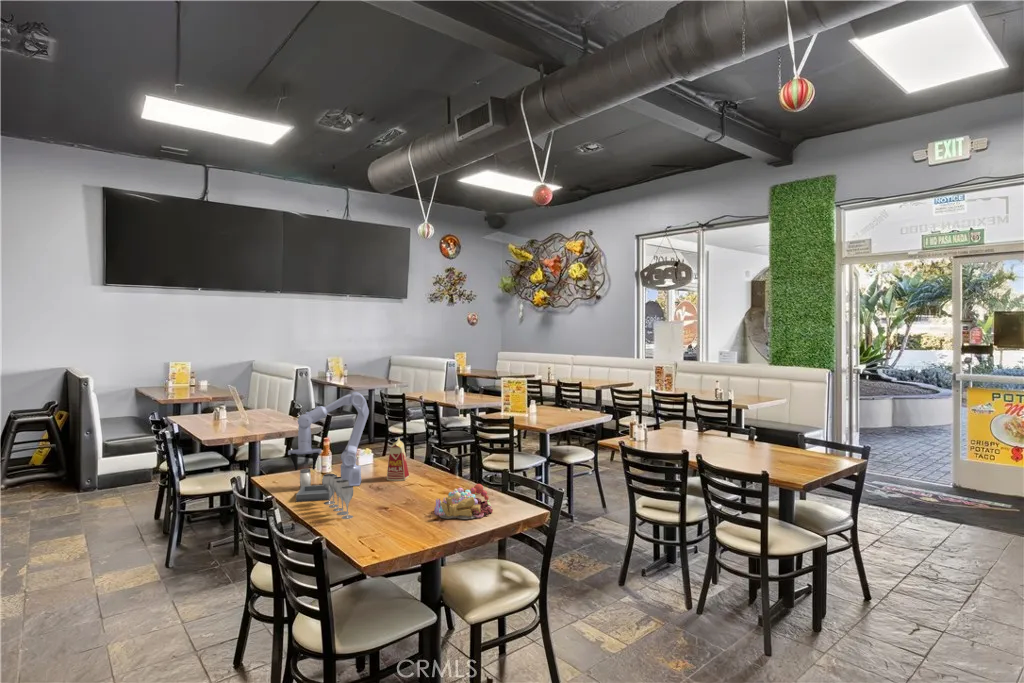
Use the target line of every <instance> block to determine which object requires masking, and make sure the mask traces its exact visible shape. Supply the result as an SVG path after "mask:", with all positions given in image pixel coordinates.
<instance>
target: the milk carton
mask: <svg viewBox="0 0 1024 683" xmlns="http://www.w3.org/2000/svg"><path fill="white" fill-rule="evenodd" d="M386 470H387V471H386V472H387V473H386V480H387V481H393V482H394V481H395V482H398V481H406V480H407V479H408V478H410V472H409V468H408V462H407V454H406V452H405V444H404V442H403V441H402V440H401V439H400V437H398V438H397V441H395V442H393V443H392V445H391V447H390V448H389V456H388V462H387V469H386Z"/></svg>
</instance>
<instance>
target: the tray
mask: <svg viewBox="0 0 1024 683" xmlns="http://www.w3.org/2000/svg"><path fill="white" fill-rule="evenodd" d="M332 498H333V492H332V490H331V491H330V500H331V499H332ZM316 501H318V502H319V501H320V502H321V501H329V492H328V489H327V488H326V487H325V486H324V485H323V484H317V485H316V484H314V485H311V486H302V488H301V489H300V488H299V490H298V491H297V493H296V494H295V503H296V502H297V503H298V502H316Z"/></svg>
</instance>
